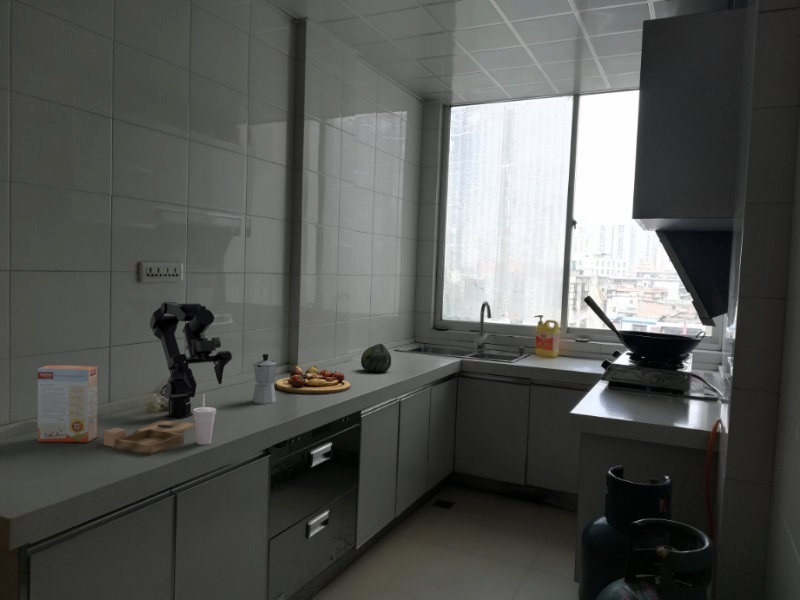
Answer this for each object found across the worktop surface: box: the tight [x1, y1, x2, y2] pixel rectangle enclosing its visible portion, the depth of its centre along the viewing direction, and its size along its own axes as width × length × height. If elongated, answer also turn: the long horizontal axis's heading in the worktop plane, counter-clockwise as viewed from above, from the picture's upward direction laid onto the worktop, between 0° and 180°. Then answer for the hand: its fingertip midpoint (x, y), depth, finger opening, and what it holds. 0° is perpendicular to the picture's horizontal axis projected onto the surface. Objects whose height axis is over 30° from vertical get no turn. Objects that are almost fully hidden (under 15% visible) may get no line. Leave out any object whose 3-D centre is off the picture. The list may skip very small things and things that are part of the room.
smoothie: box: [192, 393, 217, 446], centre depth 173 cm, size 6×6×14 cm
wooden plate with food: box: [274, 366, 351, 395], centre depth 259 cm, size 32×32×8 cm
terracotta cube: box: [103, 427, 127, 448], centre depth 169 cm, size 4×4×4 cm
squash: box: [360, 343, 392, 373], centre depth 302 cm, size 14×15×15 cm
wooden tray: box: [115, 429, 185, 456], centre depth 169 cm, size 12×12×2 cm
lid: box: [134, 419, 195, 434], centre depth 186 cm, size 12×12×1 cm
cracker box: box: [37, 364, 98, 443], centre depth 171 cm, size 14×6×21 cm, turn 92°
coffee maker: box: [252, 353, 277, 405], centre depth 229 cm, size 15×9×18 cm, turn 168°
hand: (206, 385), depth 186 cm, fingers open, 9 cm apart
